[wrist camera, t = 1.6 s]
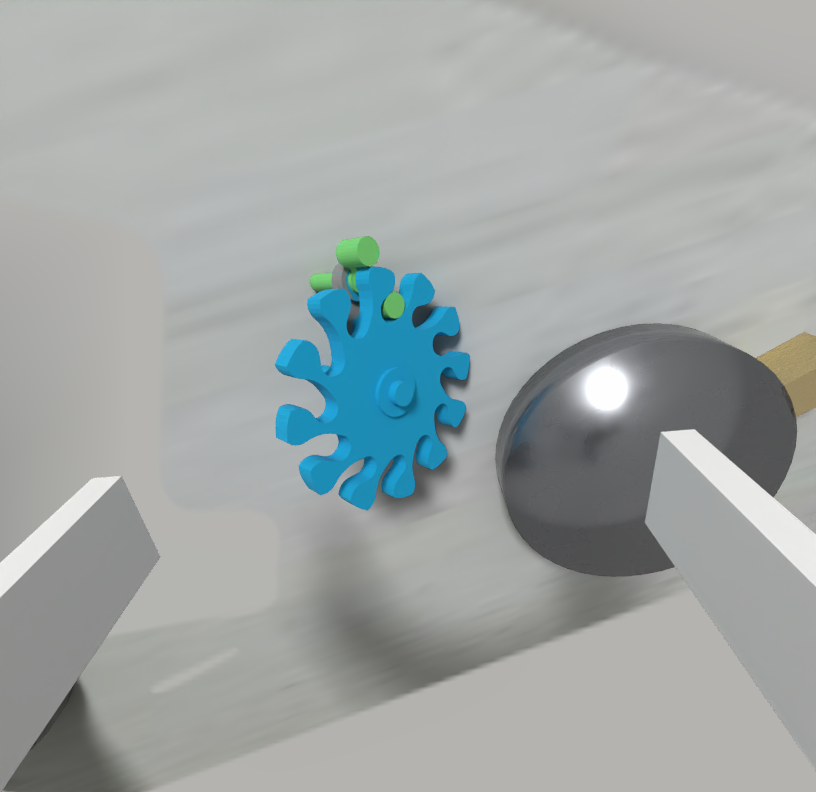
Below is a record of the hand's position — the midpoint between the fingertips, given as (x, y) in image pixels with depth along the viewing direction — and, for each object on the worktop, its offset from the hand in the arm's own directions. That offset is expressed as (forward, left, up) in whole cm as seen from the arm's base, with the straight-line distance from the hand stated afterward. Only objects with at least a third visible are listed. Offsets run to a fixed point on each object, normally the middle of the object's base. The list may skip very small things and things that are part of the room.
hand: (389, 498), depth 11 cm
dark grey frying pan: (+13, -6, -12) cm, 18 cm away
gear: (0, 0, -12) cm, 12 cm away
